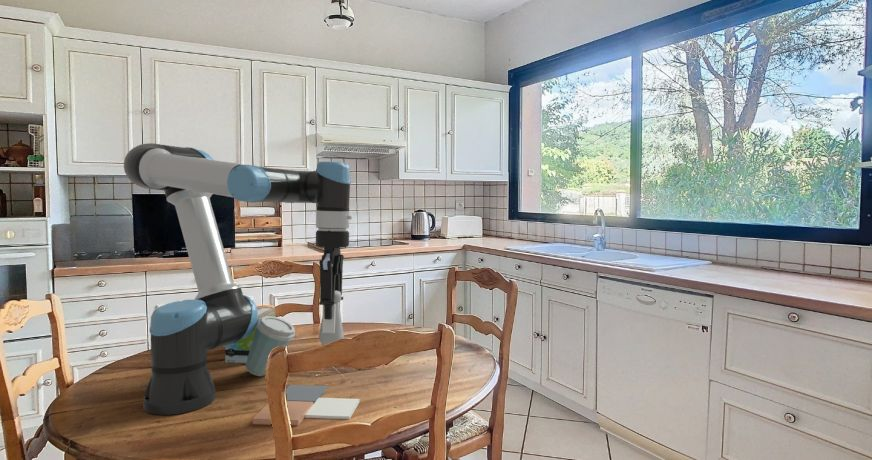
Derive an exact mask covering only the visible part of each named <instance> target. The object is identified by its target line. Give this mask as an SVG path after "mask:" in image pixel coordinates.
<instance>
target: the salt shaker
mask: <svg viewBox="0 0 872 460" xmlns="http://www.w3.org/2000/svg"><path fill="white" fill-rule="evenodd" d="M341 297H342V295H341V293H340V291H336V290H335V297H334V304H336V305H335V333H322V332H323V315H321V316H322V317H321V322H320V327H319V330H318V331H319V333H318V340H319V342H320V344H321V346H322V345H325V344H328V343H331V342H334V341H337V340H340V339H343V340H344V338H345V334H344V329H343V321H342V316H341V308H340V307H339V301H340V302H341V301H342V300H341Z"/></svg>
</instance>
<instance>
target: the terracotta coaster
mask: <svg viewBox="0 0 872 460" xmlns="http://www.w3.org/2000/svg"><path fill="white" fill-rule="evenodd" d="M287 405H288V411H289V415H290V421H291V425H290V426H300V424H301V423H302V422H303V420H304V419H306V418H305V414H306V413H307V412H308V410H309V409H310V408H311V407H312V405H313V402H304V401H287ZM252 425H268V426H269V425H271V420H270V413H269V408H268V403H267V404H266V405H265V406H264V407H263V408H262V409H261V410H260V411H259V412H258V413H257V414H255V416H254V417H253V418H252ZM271 426H272V425H271Z"/></svg>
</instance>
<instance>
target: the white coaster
mask: <svg viewBox="0 0 872 460" xmlns="http://www.w3.org/2000/svg"><path fill="white" fill-rule="evenodd" d="M360 402H361V399H360V398H339V397H338V398H335V397H320V398H318V399H317V400H316V402H315V403H314V404H313V405H312V407H311V408H310V409H309V410H308V412H307V413H306V414H305V418H304V419H327V420H328V419H329V420H330V419H331V420H332V419H334V420H350V419H351V418H352V416H353V414H354V412H355V411H356V409H357V407H358V405H359V404H360Z"/></svg>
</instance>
